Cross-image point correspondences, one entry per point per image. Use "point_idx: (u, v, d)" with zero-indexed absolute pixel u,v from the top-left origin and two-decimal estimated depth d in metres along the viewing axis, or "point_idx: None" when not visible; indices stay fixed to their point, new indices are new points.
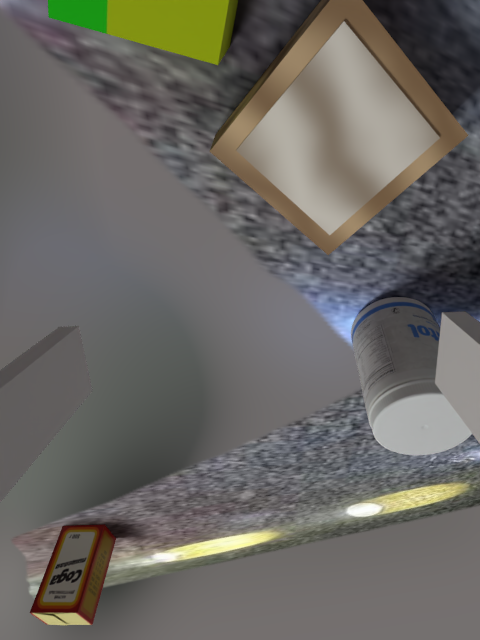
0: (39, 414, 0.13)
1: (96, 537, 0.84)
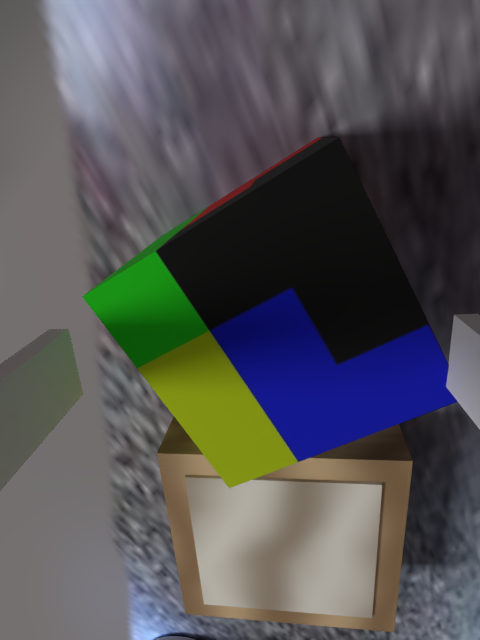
0: (26, 419, 0.12)
1: None
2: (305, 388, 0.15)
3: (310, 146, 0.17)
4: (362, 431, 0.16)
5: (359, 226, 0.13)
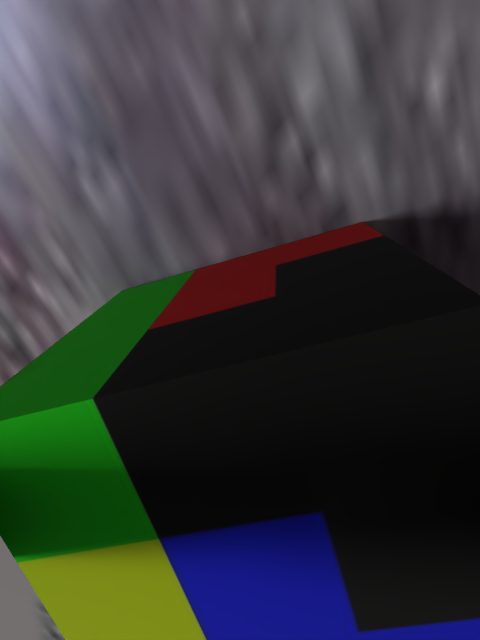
0: None
1: None
2: None
3: (371, 249, 0.11)
4: None
5: (471, 451, 0.07)
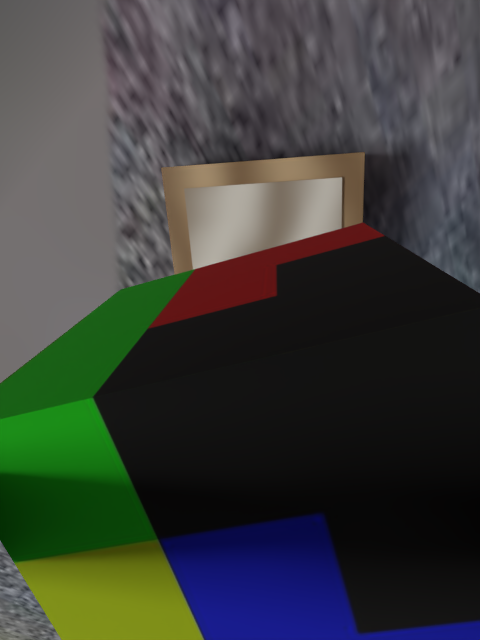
0: None
1: None
2: None
3: (373, 249, 0.11)
4: None
5: (473, 452, 0.07)
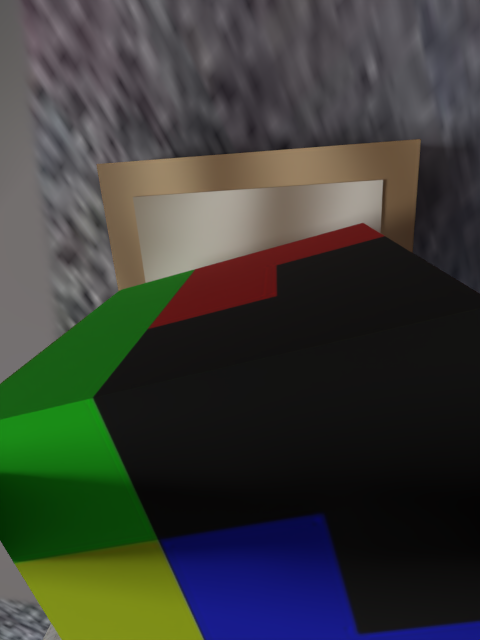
0: None
1: None
2: None
3: (373, 250, 0.11)
4: None
5: (474, 453, 0.07)
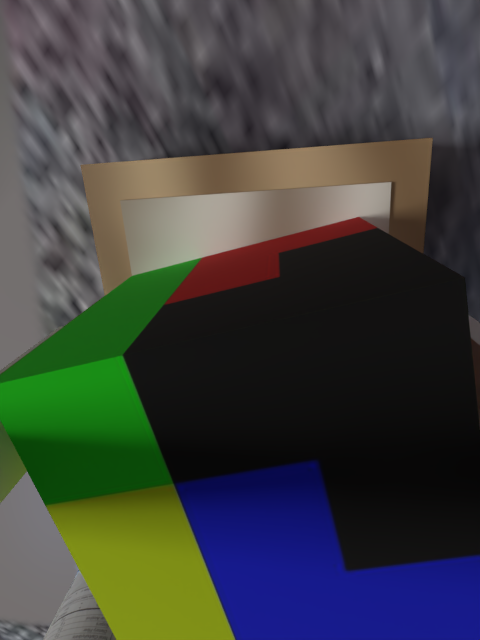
0: None
1: None
2: (289, 588, 0.10)
3: (366, 239, 0.12)
4: None
5: (446, 406, 0.08)
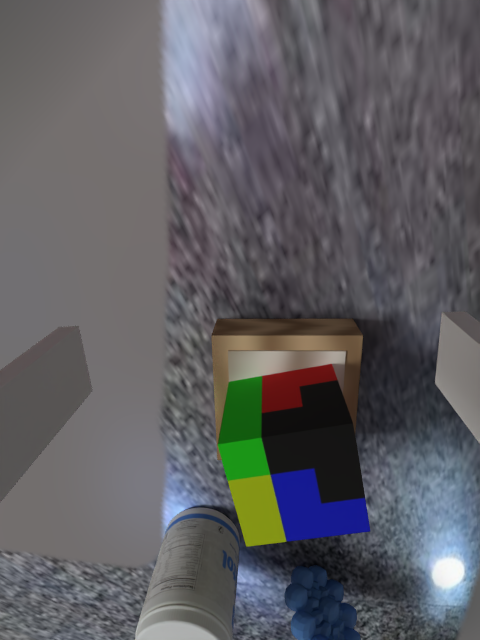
0: (39, 414, 0.13)
1: None
2: (303, 509, 0.32)
3: (332, 388, 0.35)
4: (321, 534, 0.33)
5: (349, 454, 0.30)
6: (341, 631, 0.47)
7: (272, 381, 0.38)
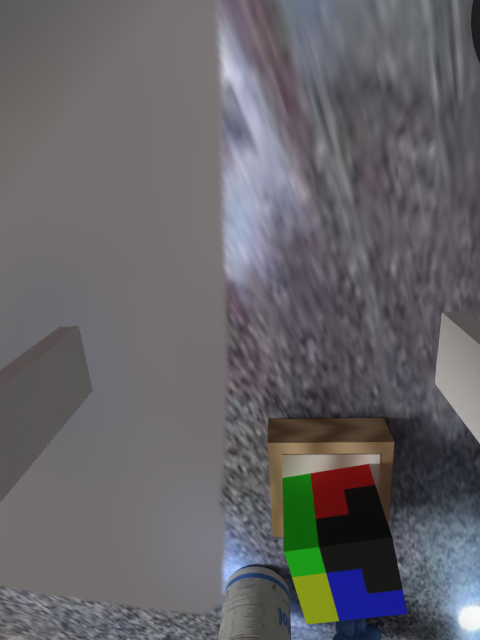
0: (39, 414, 0.13)
1: None
2: (352, 598, 0.40)
3: (371, 495, 0.43)
4: (367, 616, 0.41)
5: (389, 559, 0.38)
6: None
7: (320, 481, 0.46)
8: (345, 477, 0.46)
